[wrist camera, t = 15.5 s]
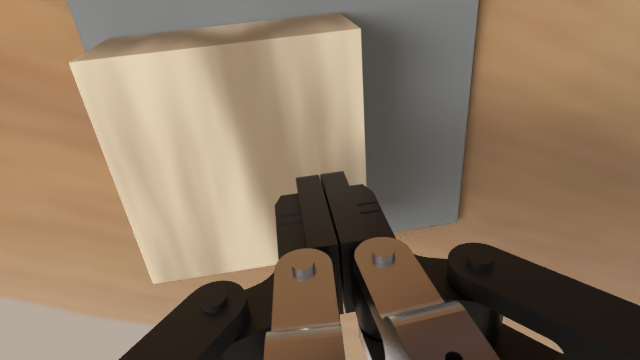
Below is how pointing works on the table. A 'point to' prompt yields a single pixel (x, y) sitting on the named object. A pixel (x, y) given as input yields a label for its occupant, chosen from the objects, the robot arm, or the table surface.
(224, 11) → the mat
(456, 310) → the robot arm
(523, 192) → the table surface
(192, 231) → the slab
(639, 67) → the table surface
